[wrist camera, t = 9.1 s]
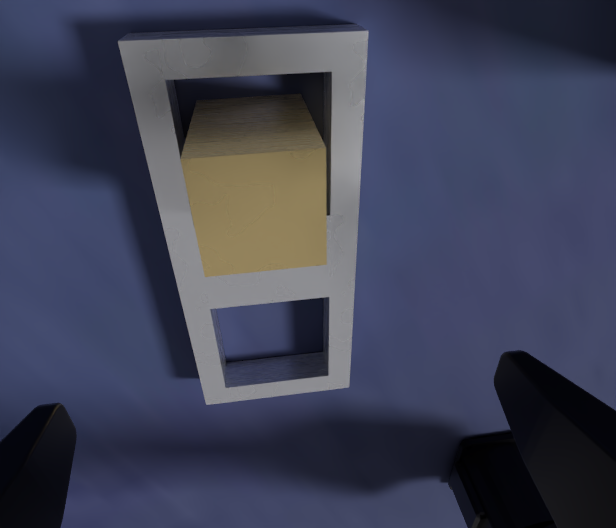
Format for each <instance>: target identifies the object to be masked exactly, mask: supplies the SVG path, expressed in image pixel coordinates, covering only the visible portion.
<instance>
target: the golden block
mask: <svg viewBox="0 0 616 528" xmlns="http://www.w3.org/2000/svg"><path fill="white" fill-rule="evenodd" d="M180 160H181V165H182V170H183V175H184V179H185V184H186V189H187V194H188V199H189V203H190V208H191V213H192V218H193V223H194V228H195V232H196V237H197V242H198V247H199V252H200V256H201V261H202V266H203V271H204V276H205V277H212V276H222V275H231V274H241V273H251V272H261V271H271V270H281V269H290V268H300V267H310V266H320V265H327V217H326V147H325V145H324V142H323V140H322V138H321V136H320V134H319V132H318V130H317V128H316V125H315V123H314V121H313V119H312V117H311V115H310V113H309V110H308V108H307V106H306V104H305V102H304V100H303V98H302V96H301V94H287V95H272V96H257V97H241V98H226V99H211V100H197V101H196V105H195V108H194V112H193V115H192V119H191V123H190V126H189V130H188V133H187V137H186V141H185V144H184V148H183V152H182V155H181V159H180Z"/></svg>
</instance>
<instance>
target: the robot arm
mask: <svg viewBox="0 0 616 528" xmlns="http://www.w3.org/2000/svg"><path fill="white" fill-rule="evenodd" d="M494 386H495V390H496V392H497V395H498V397H499V400H500V403H501V405H502V408H503V411H504V413H505V416H506V418H507V421H508V424H509V426H510V429H511V431H512V434H505V435H498V436H490V437H483V438H476V439H469V440H465V441H463V442H462V443H461V444H460V447H459V450H458V453H457V457H456V460H455V463H454V466H453V469H452V472H451V475H450V478H449V482H448V485H449V487H450V489H451V490H453V492H454V495H455V497H456V500H457V502H458V505H459V507H460V510H461V512H462V515H463V517H464V519H465V522H466V524H467V527H468V528H616V411H615V410H614V409H612V408H611V407H609V406H608V405H606V404H605V403H603V402H602V401H600V400H599V399H597V398H596V397H594V396H593V395H591V394H589V393H588V392H586V391H585V390H583V389H582V388H580V387H579V386H577V385H576V384H574V383H573V382H571V381H570V380H568V379H567V378H565V377H563V376H562V375H560V374H559V373H557V372H556V371H554V370H553V369H551V368H550V367H548V366H547V365H545V364H544V363H542V362H541V361H539V360H537V359H536V358H534V357H533V356H531V355H530V354H528V353H527V352H525V351H521V350H517V351H509V352H504V353H503V354H502V355H501V358H500V361H499V364H498V367H497V370H496V373H495V376H494ZM75 445H76V428H75V426H74V424H73V422H72V420H71V418H70V416H69V415H68V413H67V411H66V409H65V407H64V406H63V405H62V404H60V403H52V404H44V405H39V406H37V407H36V408H34V409H33V410H32V411H31V412H30V413H29V414H28V415H27V416H26V417H25V418H24V419H23V420H22V421H21V422H20V423H19V424H18V425H17V426H16V427H15V428H14V429H13V430H12V431H11V432H10V433H9V434H8V435H7V436H6V437H5V438H4V439H3V440H2V441H1V442H0V528H60V527H61V523H62V519H63V514H64V509H65V504H66V498H67V492H68V486H69V480H70V474H71V468H72V462H73V456H74V450H75Z"/></svg>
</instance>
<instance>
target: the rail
mask: <svg viewBox="0 0 616 528" xmlns="http://www.w3.org/2000/svg"><path fill="white" fill-rule="evenodd" d="M118 45H119V49H120V53H121V57H122V61H123V65H124V69H125V73H126V77H127V82H128V86H129V90H130V94H131V98H132V102H133V106H134V110H135V114H136V118H137V123H138V127H139V131H140V135H141V139H142V143H143V147H144V151H145V155H146V159H147V164H148V168H149V172H150V176H151V180H152V184H153V188H154V192H155V196H156V201H157V205H158V209H159V213H160V217H161V221H162V225H163V229H164V233H165V237H166V242H167V246H168V250H169V254H170V258H171V262H172V266H173V270H174V274H175V278H176V283H177V287H178V291H179V295H180V299H181V303H182V307H183V311H184V315H185V319H186V324H187V328H188V332H189V336H190V340H191V344H192V348H193V352H194V356H195V360H196V365H197V369H198V373H199V377H200V381H201V385H202V389H203V393H204V397H205V401H206V405H210V404H218V403H226V402H234V401H242V400H251V399H259V398H267V397H275V396H283V395H291V394H299V393H307V392H315V391H324V390H332V389H340V388H348V387H349V381H350V363H351V344H352V326H353V307H354V289H355V270H356V251H357V233H358V214H359V196H360V177H361V159H362V140H363V121H364V103H365V84H366V66H367V47H368V30H366V29H364V28H362V27H361V26H359V25H357V24H344V25H319V26H294V27H269V28H243V29H218V30H193V31H168V32H143V33H128V34H127V35H126V36H124V37H123V38H121V39H120V40H119V41H118ZM314 72H324V81H323V142H324V145H325V147H326V217H327V265H320V266H310V267H300V268H290V269H281V270H271V271H261V272H251V273H241V274H231V275H222V276H212V277H205V276H204V271H203V266H202V261H201V256H200V252H199V247H198V242H197V237H196V232H195V228H194V223H193V218H192V213H191V208H190V203H189V199H188V194H187V189H186V184H185V179H184V175H183V170H182V165H181V160H180V159H181V155H182V152H183V148H184V144H185V138H184V133H183V128H182V122H181V117H180V112H179V106H178V101H177V95H176V90H175V85H174V80H175V79H195V78H215V77H234V76H254V75H274V74H294V73H314ZM314 298H323V352H316V353H307V354H299V355H290V356H281V357H272V358H264V359H255V360H246V361H237V362H229V363H226V359H225V354H224V348H223V343H222V338H221V332H220V327H219V321H218V316H217V311H216V308H226V307H235V306H245V305H255V304H265V303H275V302H284V301H294V300H304V299H314Z"/></svg>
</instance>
